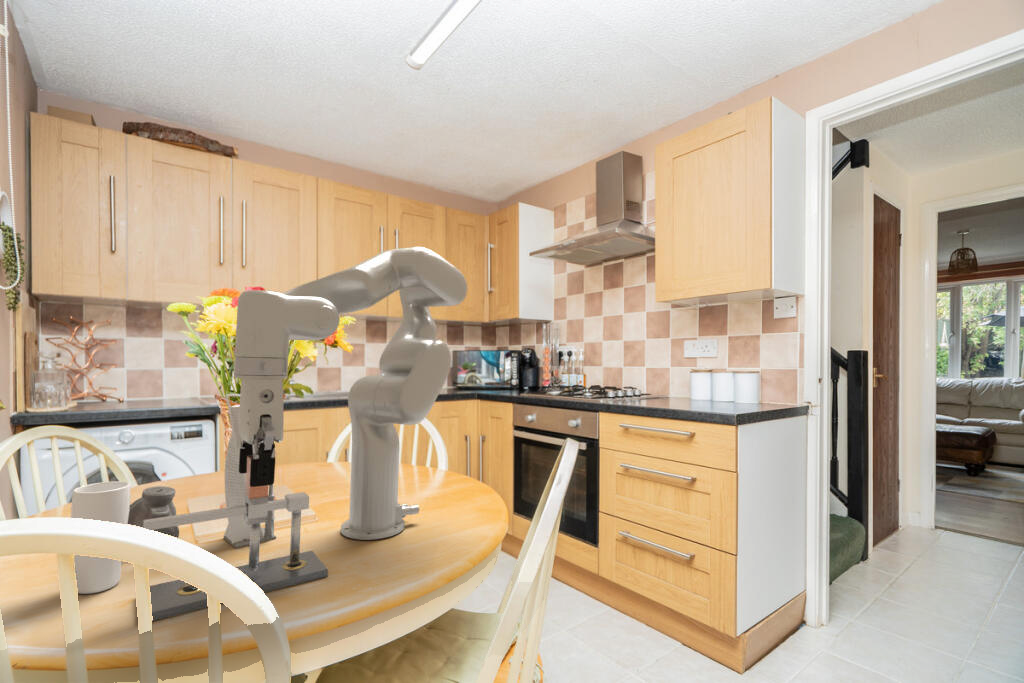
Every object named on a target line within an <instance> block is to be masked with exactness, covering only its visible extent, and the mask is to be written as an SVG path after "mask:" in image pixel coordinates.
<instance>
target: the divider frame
mask: <svg viewBox="0 0 1024 683" xmlns="http://www.w3.org/2000/svg"><path fill="white" fill-rule="evenodd" d="M309 508H310V496H309V495H308V494H307V493H306V492H305V491H301V492H294V493H288V494H284V498H283V499H274V501H268V511H272V510H274V511H276V510H284V509H286V510H287V511H288V512H289V513H291V521H290V522H291V524H290V543H289V544H290V546H289V547H290V549H289V555H290V564H291V565H297V564H298V563H299V553H301V552H300V549H301V548H300V546H301V522H302V511H304V510H308V509H309ZM247 514H248V504H247V505H240V506H234V507H227V508H226V507H221V508H216V509H214V508H213V509H209V510H207V509H206V510H202V511H196V512H195V511H194V512H189V513H182V514H176V515H174V516H167V517H161V518H154V519H148V520H144V525H143V528H146V529H149V530H155V529H161V528H167V527H173V526H178V527H179V526H185V525H191V524H197V523H203V522H209V521H215V520H216V521H217V520H221V519H228V518H229V517H235V516H241V515H247Z"/></svg>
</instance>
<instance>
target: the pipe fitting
mask: <svg viewBox="0 0 1024 683" xmlns="http://www.w3.org/2000/svg"><path fill="white" fill-rule="evenodd" d="M175 496H176V489H175V488H173V487H171V486H170V487H169V486H163V485H162V486H152V487H151V486H150V487H146V488H145V489H143V490H142V493H141V497H140V498H138V499H136V500H135V501H133V502H132V503H130V511H129V518H128V524H131V525H136V526H140V527H143V525H144V520H148V519H154V518H161V517H167V516H174V515H177V509H176V506H175V504H174V502H173V499H174V498H175ZM154 531H158V532H161V533H164V534H168V535H171V536H174V537H177V538H179V536H180V528H179V526H173V527H167V528H161V529H155V530H154Z"/></svg>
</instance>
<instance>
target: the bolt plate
mask: <svg viewBox="0 0 1024 683" xmlns="http://www.w3.org/2000/svg"><path fill="white" fill-rule="evenodd" d="M235 567H236V568H238V569H239V570H241V571H242V572H243V573H244V574H246V575H247V576H248V577H249V578H250V579H251V580H252V581H253V582H255V583H256V584H257V585H258V586H259V587H260V588H261V589H262V590H263V591H264V592H265V593H269V592H271V591H277V590H281V589H284V588H288V587H292V586H296V585H299V584H304V583H307V582H312V581H315V580H319V579H323V578H328V574H329V573H328V572H329V568H328V567H327V566H326V565H325V563H323V562H322V560H321V559H320V558H319V557H318V556H317V554H316V553H315V552H314V551H313V550H307V551H303V552H299V563H298V564H297V565H291V564H290V554H289V555H285V556H281V557H280V556H279V557H276V558H272V559H271V558H270V559H268V560H261V561H259V567H258V569H257V570H255V571H250V570H249V563H247V564H244V565H239V566H235ZM149 586H150V592H151V604H152V616H153V621H152V622H156V621H159V620H158V619H160V620H164V619H167V617H168V618H171V617H170V616H172V617H175V616H180V615H183V614H186V613H187V614H188V613H191V612H194V611H198V610H202V609H206V608H208V607H207V594H206V593H205V592H203V591H201V590H200V589H198V588H196V587H194V586H192V585H190V584H188V583H185V582H184V581H181V580H179V579H176V580H172V581H171V580H170V581H167V582H163V583H156V584H153V585H149ZM174 615H175V616H174ZM163 618H164V619H163Z"/></svg>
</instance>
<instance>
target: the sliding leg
mask: <svg viewBox="0 0 1024 683" xmlns="http://www.w3.org/2000/svg"><path fill="white" fill-rule="evenodd" d="M251 459H254V458H253V455H252V456H247V473H246V494H245V505H247V504H248V514H247V515H244V519H245V521H246V522H247V524H248V525H250V545H249V550H248V551H249V552H248V564H249V570H250V571H255V570H257V569H258V567H259V562H260V544H261V543H260V527H261V524H263V523H264V524H265V522H267V514H268V495H269V485H266V486H257V487H251V486H250V468H251Z"/></svg>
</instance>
